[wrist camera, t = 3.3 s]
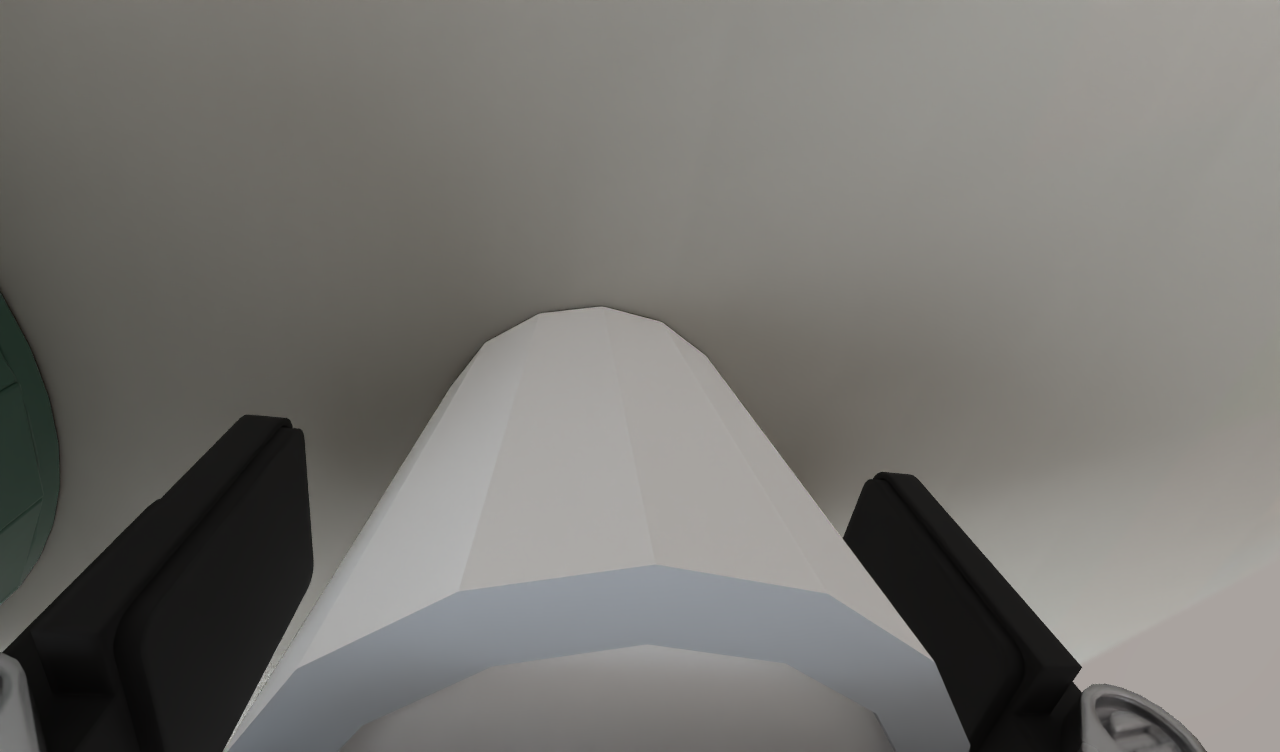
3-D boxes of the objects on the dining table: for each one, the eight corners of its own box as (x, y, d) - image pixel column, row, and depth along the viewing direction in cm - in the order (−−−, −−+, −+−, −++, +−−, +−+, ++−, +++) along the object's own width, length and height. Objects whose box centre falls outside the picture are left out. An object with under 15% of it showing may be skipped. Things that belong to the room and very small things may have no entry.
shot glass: (730, 577, 14) (862, 996, 7) (414, 574, 13) (265, 1052, 7) (798, 287, 11) (1111, 582, 4) (393, 254, 10) (81, 572, 4)
